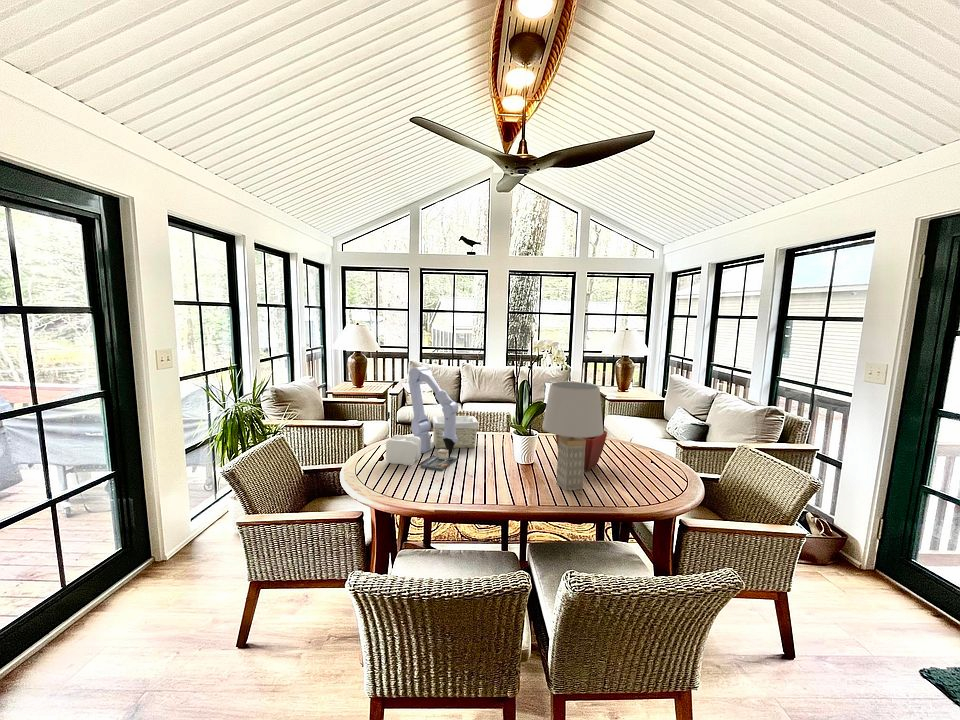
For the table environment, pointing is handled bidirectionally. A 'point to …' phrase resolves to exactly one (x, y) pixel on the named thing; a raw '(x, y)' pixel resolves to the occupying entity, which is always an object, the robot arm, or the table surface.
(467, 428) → the storage basket
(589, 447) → the plant pot
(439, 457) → the white and orange block
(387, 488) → the table surface
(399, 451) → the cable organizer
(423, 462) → the cords
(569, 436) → the lamp
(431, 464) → the panel
